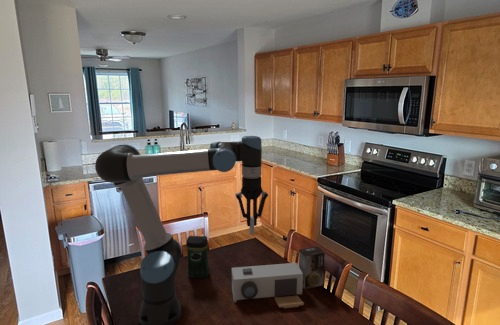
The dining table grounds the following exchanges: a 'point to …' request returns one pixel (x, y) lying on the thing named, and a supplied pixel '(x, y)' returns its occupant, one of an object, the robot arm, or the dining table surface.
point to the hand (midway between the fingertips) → (251, 233)
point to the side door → (289, 301)
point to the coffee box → (312, 266)
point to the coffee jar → (197, 256)
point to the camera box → (266, 281)
